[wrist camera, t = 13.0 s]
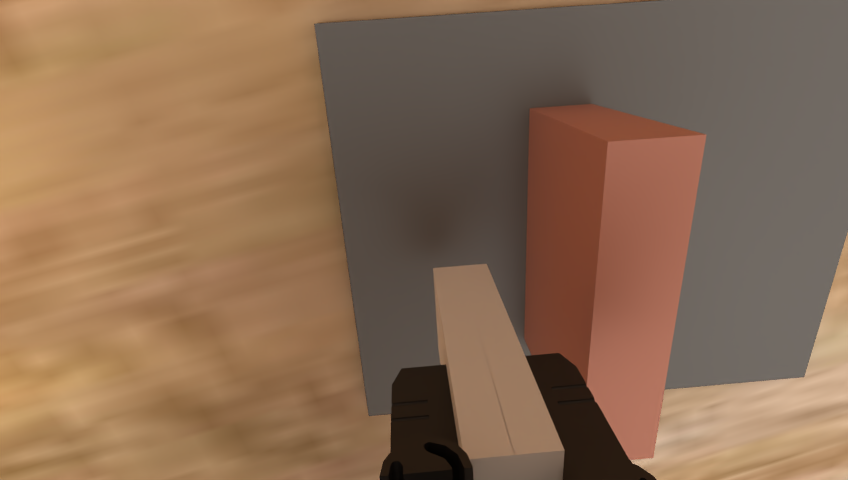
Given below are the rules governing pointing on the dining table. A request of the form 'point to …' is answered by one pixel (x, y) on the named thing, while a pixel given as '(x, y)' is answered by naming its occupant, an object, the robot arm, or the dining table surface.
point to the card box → (609, 253)
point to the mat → (615, 89)
